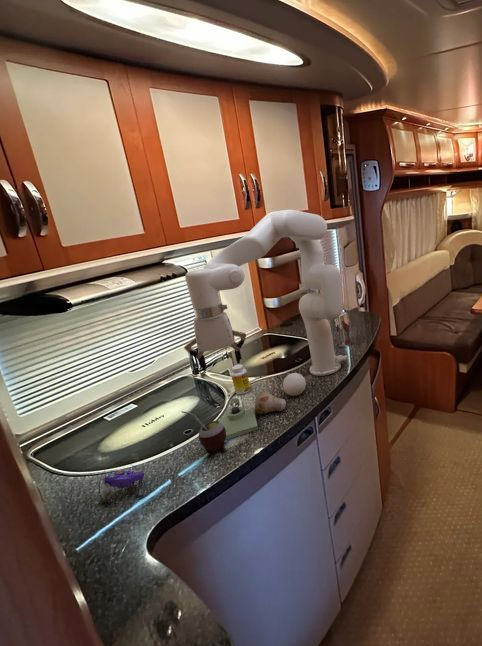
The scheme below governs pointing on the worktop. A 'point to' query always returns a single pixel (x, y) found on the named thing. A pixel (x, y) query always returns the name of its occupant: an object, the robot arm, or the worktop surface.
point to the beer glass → (343, 329)
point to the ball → (294, 384)
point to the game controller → (123, 479)
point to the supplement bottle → (240, 379)
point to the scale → (239, 422)
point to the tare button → (235, 410)
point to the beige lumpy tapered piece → (268, 403)
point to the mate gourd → (211, 435)
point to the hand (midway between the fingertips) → (222, 365)
